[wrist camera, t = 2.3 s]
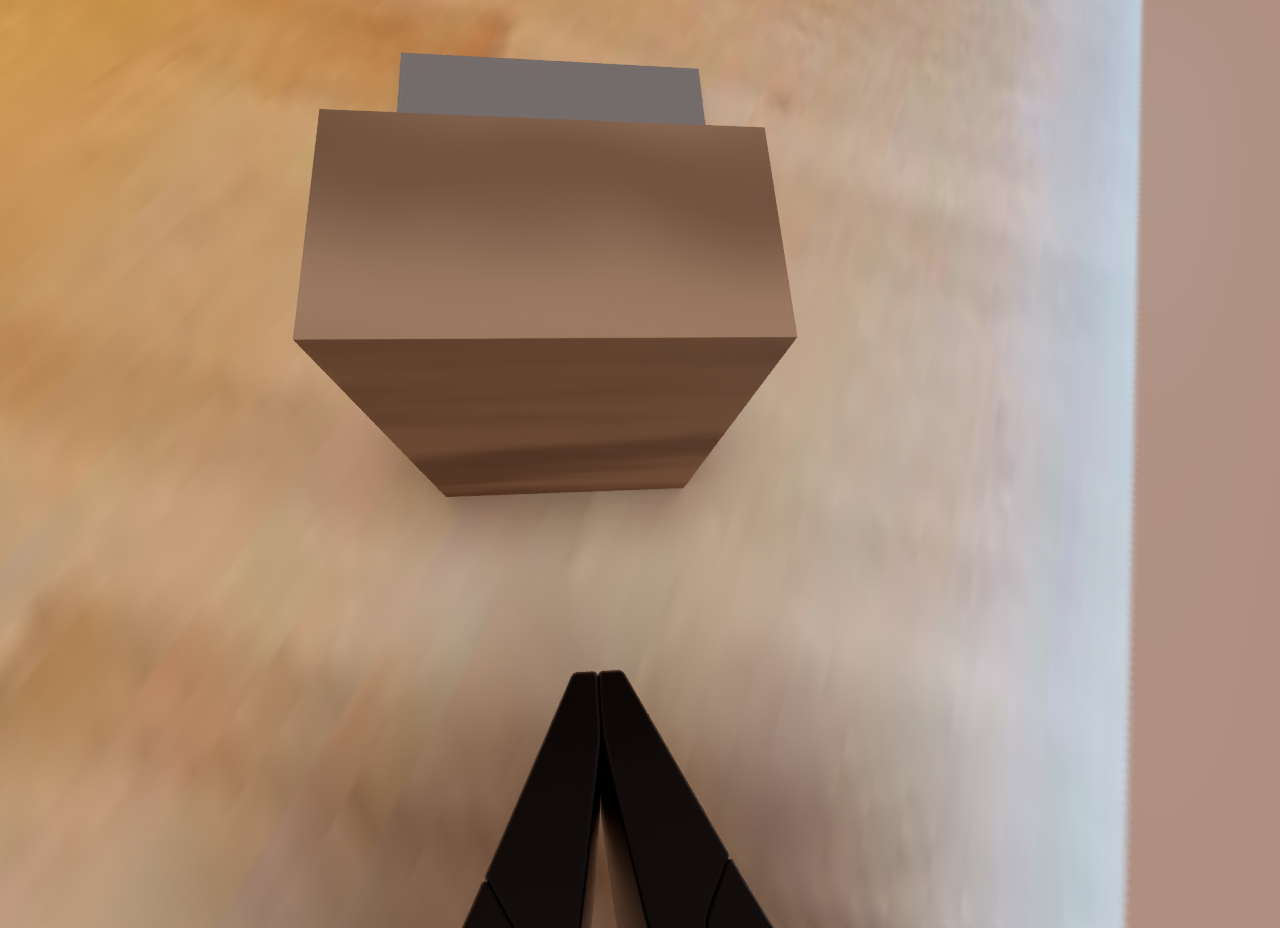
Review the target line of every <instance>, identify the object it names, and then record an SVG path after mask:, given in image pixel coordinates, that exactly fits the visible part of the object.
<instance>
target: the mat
mask: <svg viewBox="0 0 1280 928" xmlns="http://www.w3.org/2000/svg"><path fill="white" fill-rule="evenodd" d="M397 112H399V113H423V114H447V115H471V116H495V117H519V118H544V119H568V120H592V121H616V122H640V123H664V124H688V125H705V120H704V111H703V103H702V95H701V87H700V78H699V70H698V69H692V68H673V67H655V66H637V65H618V64H600V63H581V62H563V61H544V60H526V59H507V58H489V57H471V56H452V55H434V54H415V53H401V62H400V77H399V92H398V107H397Z"/></svg>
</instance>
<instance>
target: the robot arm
mask: <svg viewBox="0 0 1280 928" xmlns="http://www.w3.org/2000/svg"><path fill="white" fill-rule="evenodd" d="M600 803H601V816H602V824H603V832H604V839H605V846H606V853H607V860H608V867H609V873H610V880H611V887H612V894H613V901H614V908H615V915H616V922H617V928H774V927H773V925H772V924H771V923H770V921H769V919H768V918H767V916H766V914H765V913H764V911H763V910H762V908H761V906H760V905H759V903H758V902H757V900H756V898H755V897H754V895H753V893H752V892H751V890H750V889H749V887H748V885H747V884H746V882H745V880H744V878H743V877H742V875H741V873H740V872H739V870H738V868H737V866H736V865H735V863H734V861H733V860H732V859H729V853H728V851H727V850H726V848H725V846H724V844H723V843H722V841H721V839H720V837H719V836H718V834H717V832H716V831H715V829H714V827H713V825H712V824H711V822H710V820H709V818H708V817H707V815H706V813H705V812H704V810H703V808H702V806H701V805H700V803H699V801H698V799H697V798H696V796H695V794H694V792H693V791H692V789H691V787H690V786H689V784H688V782H687V780H686V779H685V777H684V775H683V773H682V772H681V770H680V768H679V767H678V765H677V763H676V761H675V760H674V758H673V756H672V754H671V753H670V751H669V749H668V748H667V746H666V744H665V742H664V741H663V739H662V737H661V735H660V734H659V732H658V730H657V729H656V727H655V725H654V723H653V722H652V720H651V718H650V716H649V715H648V713H647V711H646V710H645V708H644V706H643V704H642V703H641V701H640V699H639V697H638V696H637V694H636V692H635V691H634V689H633V687H632V685H631V684H630V682H629V680H628V678H627V677H626V675H625V674H624V672H623V671H621V670H610V671H601V672H600V673H599V674H598V675H597V673H596V672H593V671H591V672H576V673H574V674H573V675H572V676H571V678H570V680H569V683H568V685H567V687H566V690H565V692H564V694H563V697H562V699H561V701H560V704H559V706H558V708H557V710H556V713H555V715H554V717H553V720H552V722H551V724H550V727H549V729H548V731H547V734H546V736H545V738H544V741H543V743H542V745H541V748H540V750H539V752H538V755H537V757H536V759H535V762H534V764H533V766H532V768H531V771H530V773H529V775H528V778H527V780H526V782H525V785H524V787H523V789H522V792H521V794H520V796H519V799H518V801H517V803H516V806H515V808H514V810H513V813H512V815H511V817H510V820H509V822H508V824H507V826H506V829H505V831H504V833H503V836H502V838H501V840H500V843H499V845H498V847H497V850H496V852H495V854H494V857H493V859H492V861H491V864H490V866H489V868H488V871H487V873H486V875H485V881H484V882H482V884H481V886H480V888H479V891H478V893H477V895H476V898H475V900H474V902H473V905H472V907H471V909H470V911H469V914H468V916H467V918H466V920H465V922H464V924H463V927H462V928H591V924H592V912H593V899H594V886H595V874H596V861H597V848H598V836H599V820H600Z"/></svg>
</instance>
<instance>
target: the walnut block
mask: <svg viewBox="0 0 1280 928" xmlns="http://www.w3.org/2000/svg"><path fill="white" fill-rule="evenodd" d="M796 338H797V332H796V326H795V319H794V313H793V307H792V300H791V294H790V288H789V281H788V275H787V268H786V262H785V256H784V249H783V243H782V236H781V230H780V224H779V217H778V211H777V205H776V198H775V192H774V185H773V179H772V173H771V166H770V160H769V153H768V147H767V141H766V134H765V128H761V127H737V126H713V125H688V124H664V123H640V122H616V121H592V120H568V119H544V118H519V117H495V116H471V115H447V114H423V113H399V112H374V111H350V110H326V109H319V118H318V126H317V135H316V144H315V153H314V161H313V170H312V179H311V188H310V196H309V205H308V214H307V223H306V231H305V240H304V249H303V258H302V266H301V275H300V284H299V293H298V301H297V310H296V319H295V327H294V336H293V340H294V341H295V342H296V343H297V344H298V345H299V346H300V347H301V348H302V349H303V350H304V351H305V352H306V353H307V354H308V355H309V356H310V357H311V358H312V359H313V361H314V362H315V363H316V364H317V365H318V366H319V367H320V368H321V369H322V370H323V371H324V372H325V373H326V374H327V375H328V376H329V377H330V378H331V379H332V380H333V381H334V382H335V383H336V384H337V385H338V386H339V387H340V388H341V389H342V390H343V391H344V392H345V393H346V394H347V395H348V396H349V398H350V399H351V400H352V401H353V402H354V403H355V404H356V405H357V406H358V407H359V408H360V409H361V410H362V411H363V412H364V413H365V414H366V415H367V416H368V417H369V418H370V419H371V420H372V421H373V422H374V423H375V424H376V425H377V426H378V427H379V428H380V429H381V430H382V431H383V432H384V433H385V435H386V436H387V437H388V438H389V439H390V440H391V441H392V442H393V443H394V444H395V445H396V446H397V447H398V448H399V449H400V450H401V451H402V452H403V453H404V454H405V455H406V456H407V457H408V458H409V459H410V460H411V461H412V462H413V463H414V464H415V465H416V466H417V467H418V468H419V469H420V470H421V472H422V473H423V474H424V475H425V476H426V477H427V478H428V479H429V480H430V481H431V482H432V483H433V484H434V485H435V486H436V487H437V488H438V489H439V490H440V491H441V492H442V493H443V494H444V495H445V496H446V497H455V496H481V495H508V494H534V493H560V492H587V491H613V490H640V489H666V488H684V486H685V485H686V484H687V482H688V481H689V480H690V478H691V477H692V476H693V474H694V473H695V472H696V470H697V469H698V468H699V466H700V465H701V464H702V462H703V461H704V460H705V458H706V457H707V456H708V455H709V453H710V452H711V451H712V449H713V448H714V447H715V445H716V444H717V443H718V441H719V440H720V439H721V437H722V436H723V435H724V433H725V432H726V431H727V429H728V428H729V427H730V425H731V424H732V423H733V421H734V420H735V419H736V417H737V416H738V415H739V413H740V412H741V411H742V409H743V408H744V407H745V406H746V404H747V403H748V402H749V400H750V399H751V398H752V396H753V395H754V394H755V392H756V391H757V390H758V388H759V387H760V386H761V384H762V383H763V382H764V380H765V379H766V378H767V376H768V375H769V374H770V372H771V371H772V370H773V368H774V367H775V366H776V364H777V363H778V362H779V360H780V359H781V358H782V356H783V355H784V354H785V353H786V351H787V350H788V349H789V347H790V346H791V345H792V343H793V342H794V341H795V339H796Z"/></svg>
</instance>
